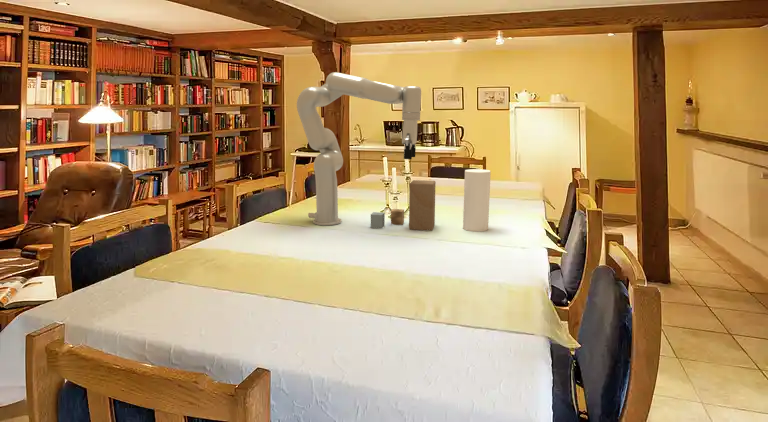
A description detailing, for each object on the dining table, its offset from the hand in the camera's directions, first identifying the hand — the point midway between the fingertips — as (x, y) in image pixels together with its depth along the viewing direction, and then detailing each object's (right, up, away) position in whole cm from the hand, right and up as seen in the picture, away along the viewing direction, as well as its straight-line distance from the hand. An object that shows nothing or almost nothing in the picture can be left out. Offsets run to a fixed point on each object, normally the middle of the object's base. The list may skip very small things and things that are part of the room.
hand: (409, 157), depth 217 cm
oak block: (-5, -28, +14) cm, 32 cm away
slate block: (-14, -29, +7) cm, 33 cm away
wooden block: (+6, -30, +6) cm, 31 cm away
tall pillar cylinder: (+29, -30, +5) cm, 42 cm away
